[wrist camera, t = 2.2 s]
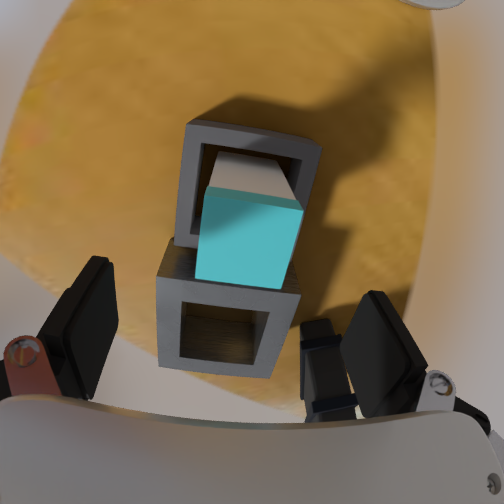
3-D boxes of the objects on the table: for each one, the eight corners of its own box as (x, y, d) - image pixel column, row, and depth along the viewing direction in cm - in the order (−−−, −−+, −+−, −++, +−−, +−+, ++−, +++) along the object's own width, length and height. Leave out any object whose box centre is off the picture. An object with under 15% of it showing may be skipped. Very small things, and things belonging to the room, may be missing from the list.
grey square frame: (193, 118, 18) (186, 123, 16) (310, 139, 19) (322, 147, 17) (180, 225, 22) (173, 245, 20) (284, 240, 23) (290, 261, 21)
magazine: (340, 302, 25) (371, 474, 17) (322, 344, 36) (341, 459, 28) (296, 309, 25) (322, 486, 17) (293, 349, 36) (309, 465, 28)
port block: (170, 238, 23) (156, 276, 19) (290, 255, 24) (301, 294, 20) (167, 325, 28) (158, 366, 23) (265, 337, 29) (269, 378, 25)
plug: (218, 150, 20) (204, 195, 12) (277, 159, 20) (303, 210, 12) (209, 205, 22) (195, 278, 14) (265, 213, 22) (280, 289, 14)
